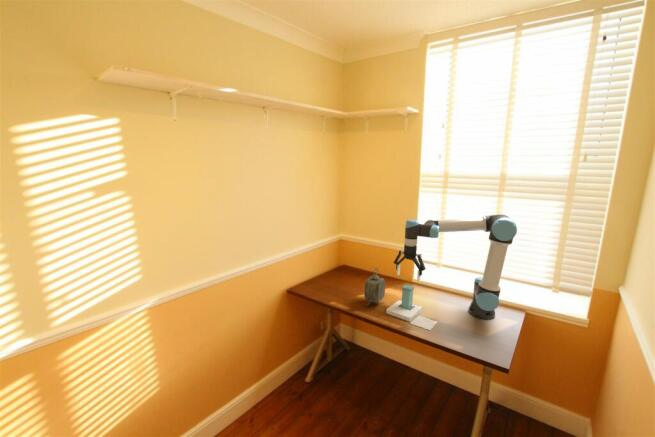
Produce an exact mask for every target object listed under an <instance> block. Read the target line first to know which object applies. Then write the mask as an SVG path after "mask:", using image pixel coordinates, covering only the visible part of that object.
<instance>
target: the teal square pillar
mask: <svg viewBox="0 0 655 437" xmlns="http://www.w3.org/2000/svg"><path fill="white" fill-rule="evenodd" d="M414 289H415V286H413V285H409V284H404V285H403V286H401V294H402V295H401V301H402V305H401V307H402V308H405V309H408V310H409V309H410V308H411V307H412V304H413V298H414Z"/></svg>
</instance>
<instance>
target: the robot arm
mask: <svg viewBox="0 0 655 437" xmlns="http://www.w3.org/2000/svg"><path fill="white" fill-rule="evenodd" d="M475 231H483V232H485V233H489V236H488V240H489V241H490V243H489V244H490V245H489V249H488V253H487V257H486V258H487V259H486V262H485V267H484V272H483V275H482V277H475V278H474V282H473V283H474V284H473V285H474V286H473V295H472V300H471V303H470V305H469V306H468V313H469V314H470V315H471V316H473V317H475V318H478V319H481V320H493V319H495V317H496V310H497V309H498V307H499V305H500V298H499V297H500V294H501V290H502V288H501V287H500V285H499V284H500V281H501V275H502V274H503V273H502V272H503V270H504V269H503V267H504V263H505V260H506V256H507V252H508V247H509V246H511V245H512V243H513V242H514V238H515V237H516V235H517V234H518V228H517V224H516V223H515V221H514V220H513V219H511V218H510V216H508V215H505V214H492V215H484V216H482V217H474V218H473V217H472V218H457V219H455V218H454V219H441V220H432V219H429V220H426V221H425V222H424V224H423V223H420V222H419V220H418V219H406V221H405V227H404V241H403V242H404V246H403V249H401V250H399V251H398V253H397V255H396V257H395V259H394V260H393V264H394V265H396V266H395V270H396V276H400V275H401V263H402V262H404V260H409V261H412V262H413V263H414V264H415V266H416V267H417V269H418V270H417V274H416V276H417V278H416V281H417V282H419V281H420V280H421V276H423V272H424V271H426V269H427V268H426V266H425V263H424V261H423V259H422V253H420V254H419V253H417V251H418V250H417V249H418V245H417V244H418V237H422V238H431V239H438V238H439V233H455V232H475ZM402 255H403V257H402ZM401 257H402V258H401ZM400 258H401V259H400Z"/></svg>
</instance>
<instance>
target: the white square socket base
mask: <svg viewBox="0 0 655 437" xmlns="http://www.w3.org/2000/svg"><path fill="white" fill-rule="evenodd" d="M401 305H402V299H401V300H400V299H399V300H397V301H396V302H395V303H393V304H392V305H391V306H390V307H388V308H387V309H386V310H385V314H387V315H389V316H393V317H396V318H398V319H402V320H403V321H407V322H410V323H411V322H412V321H413V320H414V319H415V318H416V317H417V316H419V315H420V314H421V313H422V312H423V309H424V308H423V306H419V305H416V304H413V303H412V307H411V308H410V309H409V310H408V309H405V308H402V307H401Z"/></svg>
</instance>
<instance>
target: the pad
mask: <svg viewBox="0 0 655 437" xmlns="http://www.w3.org/2000/svg"><path fill="white" fill-rule="evenodd" d="M409 324H410V325H412V326H416V327H419V328H421V329H424V330H427V331H431V330H432V329H433V328H434V327H435V326H436V325H438V321H436V320H434V319H430V318H428V317H424V316H422V315H417V316H416V317H415V318H414V319H413V320H411V321H410V323H409Z"/></svg>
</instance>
